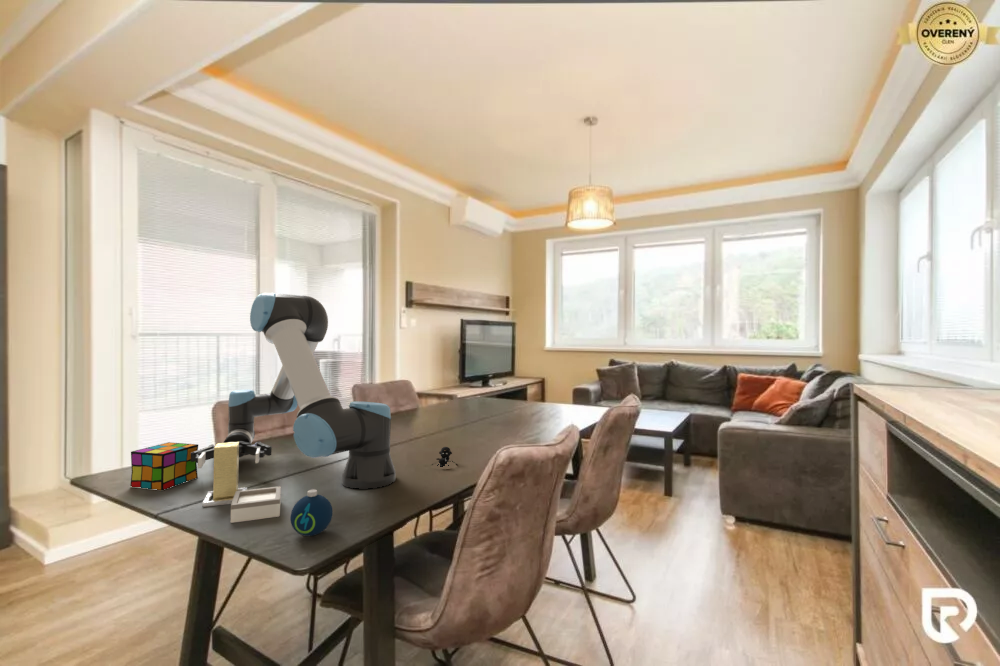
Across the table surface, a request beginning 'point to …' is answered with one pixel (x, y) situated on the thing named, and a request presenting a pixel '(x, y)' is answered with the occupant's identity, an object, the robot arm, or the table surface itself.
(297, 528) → the christmas ornament
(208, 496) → the jamb socket
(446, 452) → the toy figurine
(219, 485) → the block
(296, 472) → the table surface
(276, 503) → the white square tray
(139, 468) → the toy
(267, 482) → the table surface
